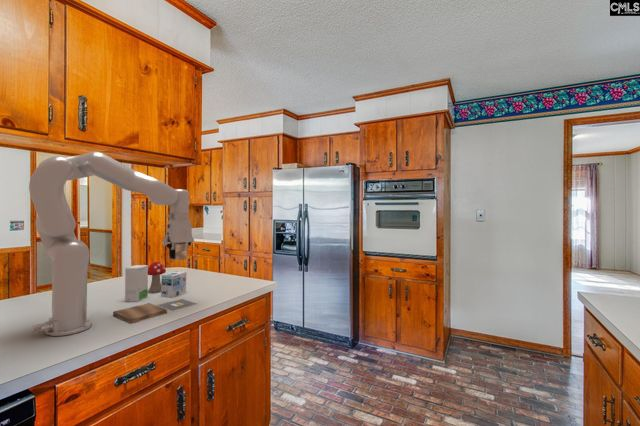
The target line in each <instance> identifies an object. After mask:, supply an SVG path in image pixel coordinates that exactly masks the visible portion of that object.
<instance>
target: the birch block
mask: <svg viewBox="0 0 640 426" xmlns="http://www.w3.org/2000/svg"><path fill="white" fill-rule="evenodd" d="M174 250H175V259H171V258H170V257H169V260H172V261H182V260H183V261H185V260H187V259H188V248H187V244H186V243H176V244H175V247H174Z"/></svg>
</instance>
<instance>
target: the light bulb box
mask: <svg viewBox="0 0 640 426" xmlns="http://www.w3.org/2000/svg"><path fill="white" fill-rule="evenodd" d="M160 282H161V291H160V293H161V295H160V296H161V297H162V298H171V299H172V298H173V299H174V298H176V297H178V296H181V295H183V294H185V293H187V271H178V270H174V271H171V272H166V273H163V274H161V279H160Z"/></svg>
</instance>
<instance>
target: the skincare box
mask: <svg viewBox="0 0 640 426" xmlns="http://www.w3.org/2000/svg"><path fill="white" fill-rule="evenodd" d="M148 268H149V266H148V264H147V265H145V264H136V265H130V266H126V267H125V269H124V271H125V277H124V281H125V282H124V283H125V284H124V285H125V286H124V302H126V303H128V302H129V303H132V302H133V303H138V302H141V301H143V300H145V299H147V298H148V293H149V292H148V287H149V285H148V283H149V282H148V280H149V279H148V277H149V275H148Z"/></svg>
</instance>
